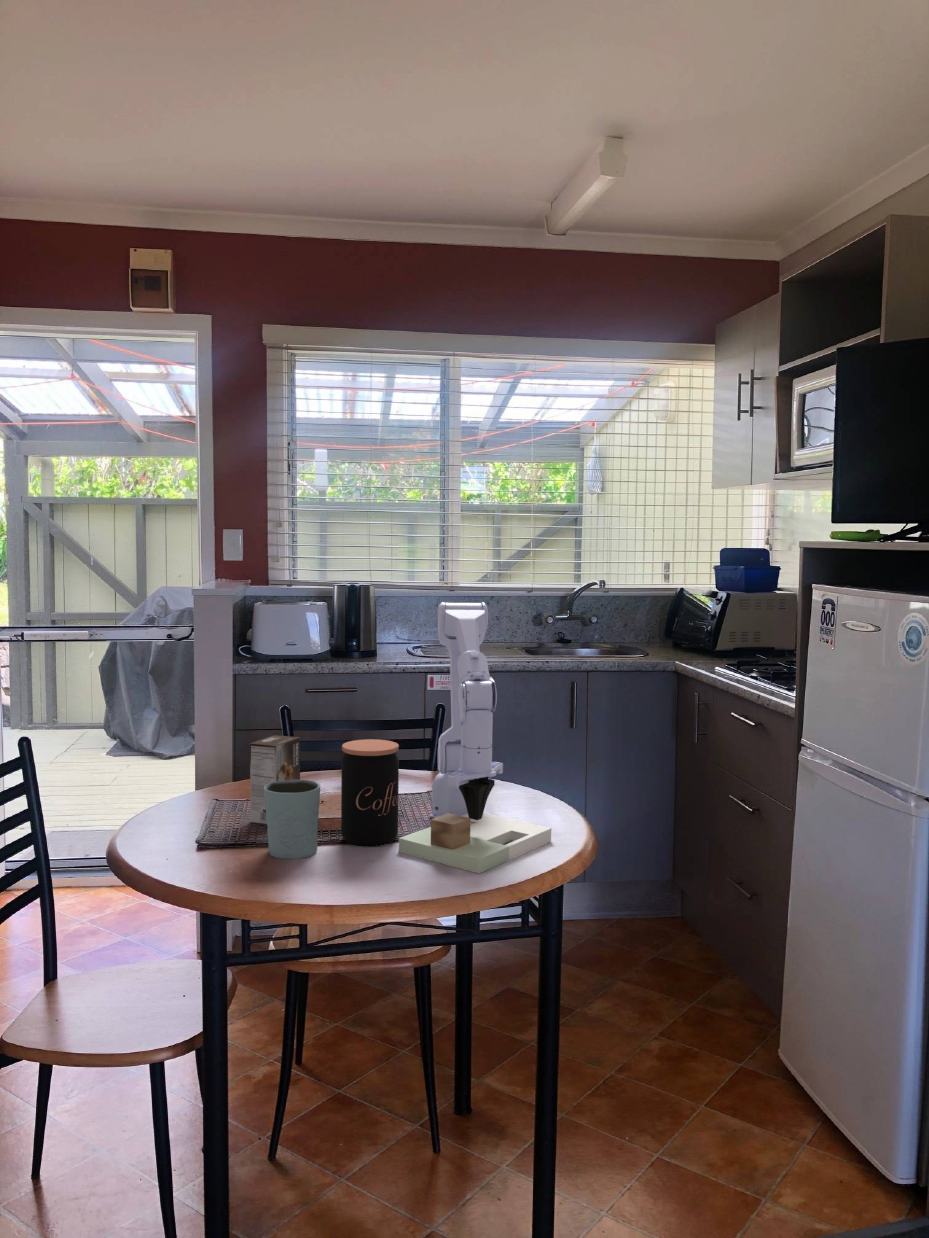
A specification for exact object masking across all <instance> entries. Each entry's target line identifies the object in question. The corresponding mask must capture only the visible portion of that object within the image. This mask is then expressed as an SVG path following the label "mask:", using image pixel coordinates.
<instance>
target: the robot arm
mask: <svg viewBox="0 0 929 1238" xmlns="http://www.w3.org/2000/svg"><path fill="white" fill-rule="evenodd" d="M488 610H489V609H488V606H487V604H486V603H485V602H483V601H481V602H445V601H441V602H440V604H438V608H437V637H438V640H439V642H438V643H439V644H440V645H442V646H444V647H446V648H447V652H448V656H449V675H450V682H449V683H450V713H451V714H450V715H451V717H450V720H451V721H450V723H451V726H450V727H449V728H447V730H445V731H444V732H443V733H441V734H440V736H439V738H438V741H437V742H438V743H437V744H438V747H437V768H438V769H437V770H438V772H439V773H438V774H436V776H434V780H433V783H432V787H431V790H432V792H431V814H429V816H428V817H429V818H431V819H433V818H436V817H439V816H442V815H445V814H448V813H450V814H454V815H458V816H462V815H465V814H468V816H469V818H471V819H474V820H479V819H482V816H483V813H485V812H484V811H485V807H486V804H487V802H488V798H489V796H490V794H491V792H492V789H493V788H494V787H495V785H496V782H495V781H496V780H495V779H492V778H494V777H495V776H497V775H501V774H503V773H504V763H503V762H499V761H498V762H497V761H493V724H494V723H493V721H494V720H493V719H494V718H493V717H494V714H493V712H495V711H496V707H497V702H498V701H497V700H498V695H497V686H496V685H497V684H496V681H495V680H494V679H493V677H492V676H490V670H489V664H488V660H487V656H486V655H485V654H484V653H483V652H482V651H481V652H480V650H481V649H480V645H481V644H483V641H484V639H485V636H486V632H487V630H488V625H489V624H488V623H489V611H488ZM492 711H493V712H492Z"/></svg>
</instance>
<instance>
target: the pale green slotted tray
mask: <svg viewBox="0 0 929 1238" xmlns="http://www.w3.org/2000/svg"><path fill="white" fill-rule="evenodd" d="M462 816H463V817H467V818H469V816H468V814H465V815H462ZM550 842H552V828H551V827H548V826H543V825H538V824H535V823H530V822H525V821H521V820H517V819H513V818H507V817H503V816H498V815H494V814H490V813H489V814H488V813H485V812H483V816H482V819H479V820H474V819H471V820H470V843H469V844H467V845H464V846H462V847H459V848H457V849H454V850H451V849H447V848H443V847H439V846H436V845H432V844H431V826H429V827H426V828H423V829H420V830H418V831H415V832H412V833H410V834H407V835H403V836H401V837H398V852H399V853H403V854H404V855H405V854H406V855H410V856H413V857H417V858H420V859H423V860H424V859H425V860H428V861H431V862H436V863H439V864H443V865H446V866H449V867H454V868H457V869H461V870H464V871H469V872H472V873H475V874H479V875H480V874H481V873H484V872H485V871H488V870H490V869H493V868H495V867H496V866H499V865H501V864H503V863H506V862H508V861H510V860H513V859H515V858H518V857H520V856H521V855H524V854H525V853H528V852H530V851H532V850H534V849H537V848H539V847H542V846H544V845H546V844H548V843H550Z"/></svg>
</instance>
